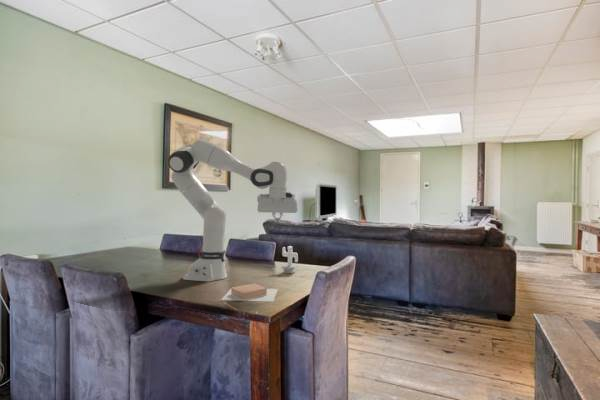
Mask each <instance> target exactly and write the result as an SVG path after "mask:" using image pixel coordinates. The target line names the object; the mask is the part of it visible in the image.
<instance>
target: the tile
mask: <svg viewBox="0 0 600 400" xmlns="http://www.w3.org/2000/svg"><path fill="white" fill-rule="evenodd" d="M230 289H231V295H233V296H235V297H237V298H239V299H241V300H246V299H251V298H256V297H260V296H265V295H267V289H268V288H266V287H265V286H261V285H260V284H257V283H249V284H244V285H238V286H233V287H231V288H230Z"/></svg>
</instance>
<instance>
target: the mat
mask: <svg viewBox="0 0 600 400" xmlns="http://www.w3.org/2000/svg"><path fill="white" fill-rule="evenodd" d="M278 290H279V288H267V295H265V296H260V297H256V298H251V299H246V300H241V299H239V298H237V297H235V296H233V295H231V288H230V289H228V291H227V292H226V293H225V295H224V296H222V298H221V299H220V302H226V301H237V302H238V301H241V302H243V301H244V302H245V301H246V302H247V301H248V302H274V301H275V298H276V295H277V293H278Z"/></svg>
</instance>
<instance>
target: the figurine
mask: <svg viewBox="0 0 600 400" xmlns="http://www.w3.org/2000/svg"><path fill="white" fill-rule="evenodd" d="M281 252H282V253H281V255H282V257H285V258H287V263H286V264H285V265H282V266H281V268H282V270H283V272H284V274H293V273H295V272H296V270H297V268H298V266H299V265H298V264H293V258H294V262H295V263H298V262H299V255H298V253H297V252H293V246H292V245H289V246H287V251H286V247H285V246H283V247H282V249H281Z"/></svg>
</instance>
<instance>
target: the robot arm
mask: <svg viewBox="0 0 600 400" xmlns="http://www.w3.org/2000/svg"><path fill="white" fill-rule="evenodd" d="M200 162H201V163H203V164H206V165H208V166H209V167H212V168H215V169H218V170H222V171H225V172H230V173H231V172H232V173H234V174H237V175H239V176H241V177H243V178H246V179H248V180H249V181H250V182H251V183H252V185H253V186H254V187H256V188H258V189H261V190H264V189H266V188H268V193H264V194H262V193H261V194H259V195H257V198H256V199H257V212H258V213H270V214H272V217H273V218H274V219H273V220H274V222H276V223H277V222H279V223H281V218H282V217H283V216H284V214H292V213H293V214H296V213H298V202H297V200H296V194H295V193H292V192H290V191H287V189H288V188H287V181H288V180H287V178H288V175H287V174H288V173H287V167H286V165H285V164H284V163H282V162H277V161H271V162H270V163H268V164H267V165H265V166H262V167H259V168H253V167H251V166H249V165H247V164H245V163H243V162H241V161H239V159H238V158H236V157H235V156H234V155H233V154H232V153H231V152H230V151H228V150H227V149H225V148H224V147H222V146H220V145H219V144H216V143H213V142H211V141H208V140H205V139H197V140H194V142H193V144H191V145H185V146H182V147H180V148H178V149H177V150H175V151H173V152H172V153H171V154H170V155H169V156H168V159H167V165H168V167H169V169H170V170H171V171H172V172H171V176H170V178H171V180H172V182H173V183H174V186H175V187H176V188H177V190H178V191H179V193H180V194H181V195H182V196H183V197H184V198H185V200H187V201H188V202H189V204H190V205H191V206H192V207H193V208H194V210H196V212H197V213H198V214H199V215H200V217H201V218H202V219H203V233H202V250H201V251H200V252H199V253H198V256H199V257H198V259H196V260H195V261H194V262H192V263H191V264H190V265H189V266H188V269H187V273H186V274H184V275H183V277H182V279H183V281H184V280H186V281H187V280H188V281H196V282H197V281H199V282H212V281H218V280H223V279H226V278H227V277H228V274H227V270H226V262H225V261H226V250H225V235H226V234H225V233H226V221H227V220H226V219H227V213H226V211H225V209H224V207H222V206H220V204H218V202H217V201H216V200H215V198H214V197H213V196H212V194H211V193H210V192H209V191H208V189H207V188H206V186H204V184H203V183H202V182H201V181H200V180H199V178H198V177H197V176H196V175H195V174H194V169H196V167H197V166H198V164H199V163H200ZM278 213H279V215H280V216H279V217H276V214H278Z"/></svg>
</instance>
